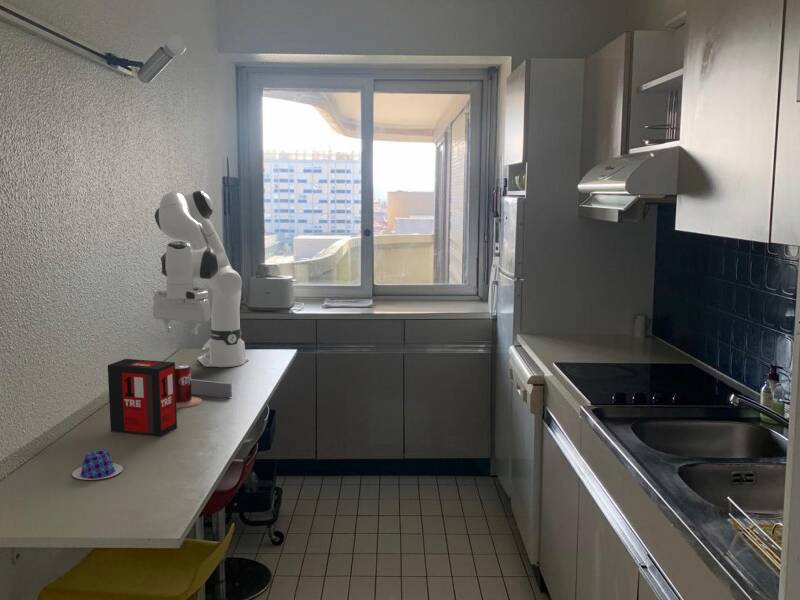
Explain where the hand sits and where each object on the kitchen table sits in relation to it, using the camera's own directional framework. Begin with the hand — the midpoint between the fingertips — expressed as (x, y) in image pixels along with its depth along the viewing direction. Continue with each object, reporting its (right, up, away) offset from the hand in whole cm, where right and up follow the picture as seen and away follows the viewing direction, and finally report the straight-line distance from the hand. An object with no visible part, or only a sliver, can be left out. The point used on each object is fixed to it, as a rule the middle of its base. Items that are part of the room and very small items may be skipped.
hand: (182, 333), depth 266 cm
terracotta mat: (-1, -23, +3) cm, 23 cm away
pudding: (-5, -33, -62) cm, 70 cm away
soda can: (-1, -23, +3) cm, 23 cm away
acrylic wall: (+3, -22, +13) cm, 25 cm away
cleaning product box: (-4, -28, -27) cm, 38 cm away
